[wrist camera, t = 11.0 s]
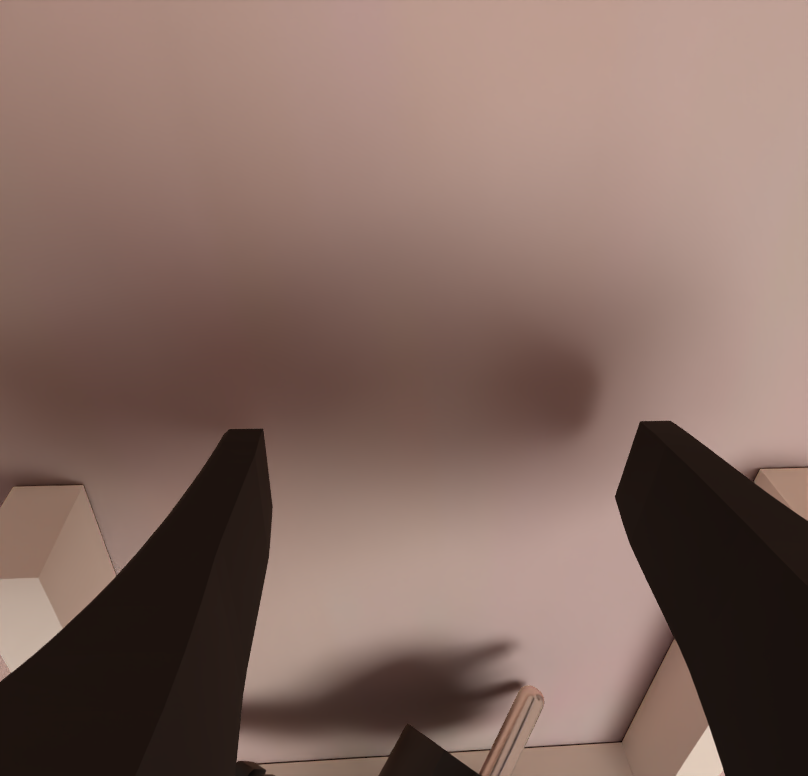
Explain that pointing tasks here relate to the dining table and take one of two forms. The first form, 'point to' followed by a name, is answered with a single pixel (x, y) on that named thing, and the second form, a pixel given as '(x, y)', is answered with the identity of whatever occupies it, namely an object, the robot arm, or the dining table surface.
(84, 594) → the socket dock
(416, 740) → the power plug
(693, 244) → the dining table surface
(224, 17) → the dining table surface
